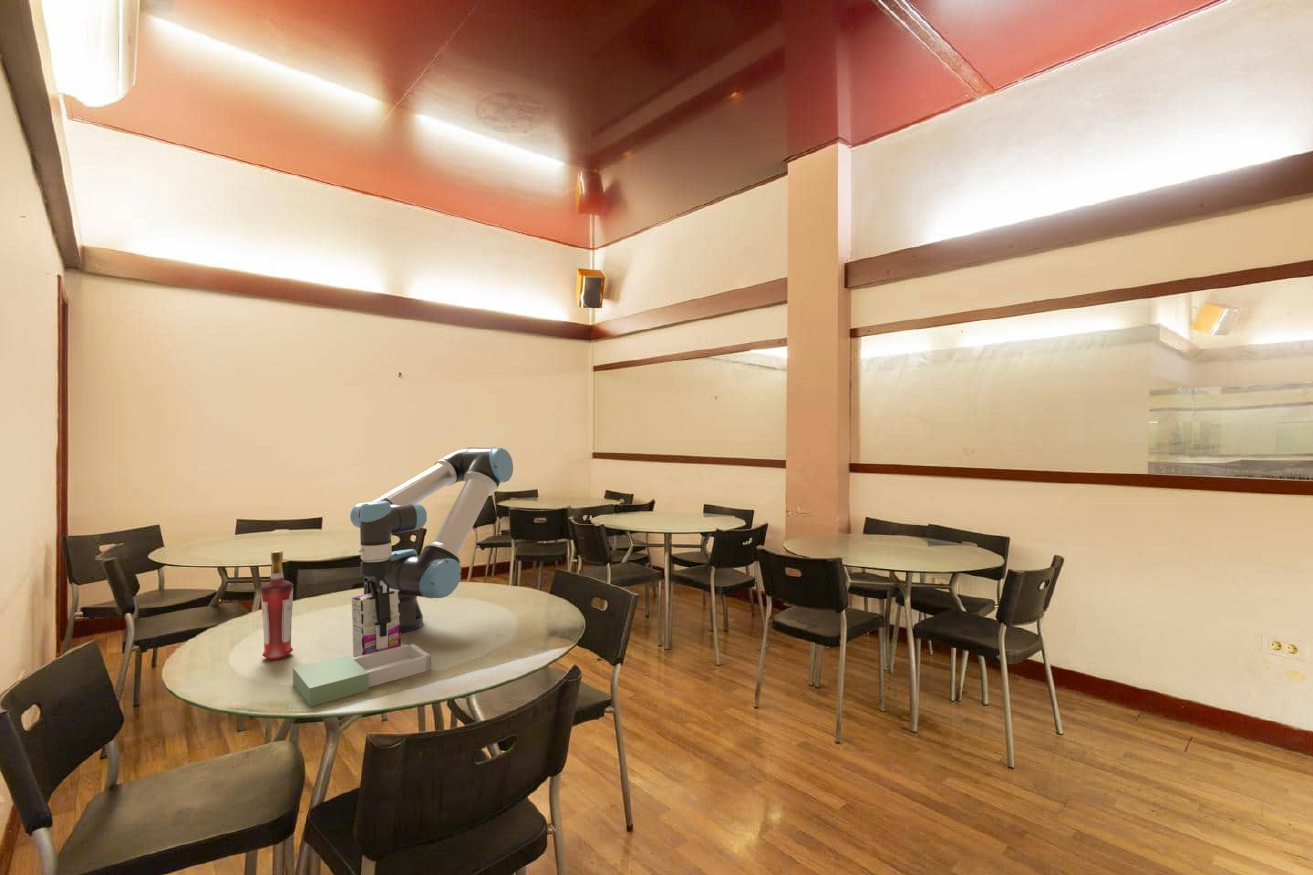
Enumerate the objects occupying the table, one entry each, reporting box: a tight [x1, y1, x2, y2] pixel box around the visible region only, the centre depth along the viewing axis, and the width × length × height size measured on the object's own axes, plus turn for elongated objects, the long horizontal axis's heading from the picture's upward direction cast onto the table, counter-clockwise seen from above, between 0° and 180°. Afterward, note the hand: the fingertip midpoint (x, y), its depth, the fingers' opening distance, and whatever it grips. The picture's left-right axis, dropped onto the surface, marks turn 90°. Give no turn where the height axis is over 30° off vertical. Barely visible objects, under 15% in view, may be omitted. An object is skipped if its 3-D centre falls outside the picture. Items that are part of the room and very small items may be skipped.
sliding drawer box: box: [292, 643, 432, 708], centre depth 143 cm, size 16×27×4 cm, turn 133°
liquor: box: [260, 550, 294, 661], centre depth 157 cm, size 7×7×28 cm
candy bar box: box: [351, 588, 402, 658], centre depth 159 cm, size 11×5×16 cm, turn 148°
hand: (376, 643), depth 159 cm, fingers open, 8 cm apart
